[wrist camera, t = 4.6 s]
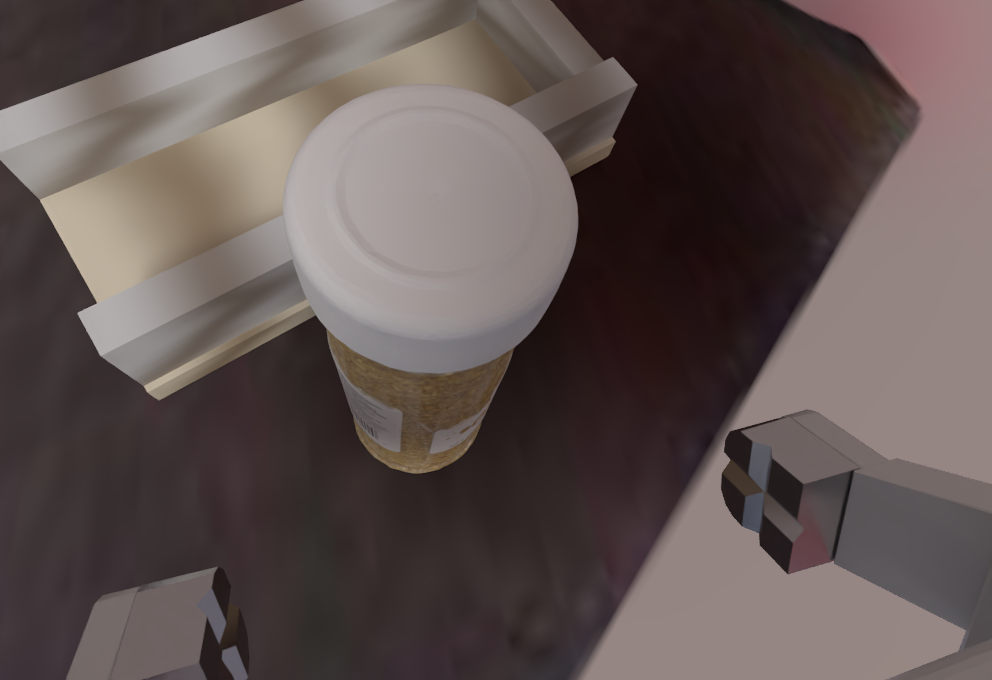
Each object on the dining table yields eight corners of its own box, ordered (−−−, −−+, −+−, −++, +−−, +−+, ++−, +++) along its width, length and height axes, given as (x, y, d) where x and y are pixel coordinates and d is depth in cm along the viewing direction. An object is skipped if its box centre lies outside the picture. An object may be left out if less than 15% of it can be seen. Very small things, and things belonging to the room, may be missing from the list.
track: (159, 400, 20) (104, 363, 17) (34, 179, 22) (-39, 102, 19) (608, 156, 27) (641, 89, 23) (478, 0, 29) (489, -84, 25)
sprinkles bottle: (490, 464, 21) (615, 318, 9) (357, 484, 20) (283, 352, 8) (471, 341, 23) (554, 66, 10) (345, 355, 22) (269, 72, 9)
